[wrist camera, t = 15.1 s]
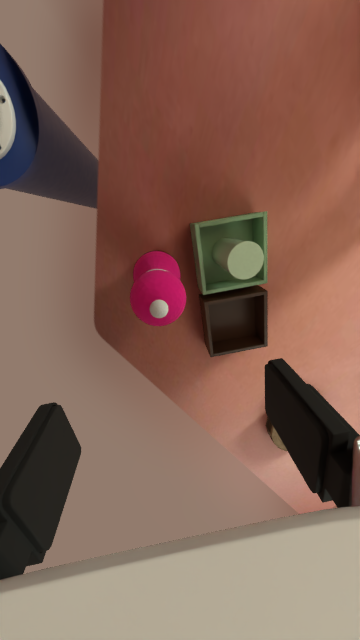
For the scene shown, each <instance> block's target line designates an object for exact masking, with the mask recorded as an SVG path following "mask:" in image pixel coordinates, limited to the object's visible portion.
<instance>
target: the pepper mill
mask: <svg viewBox="0 0 360 640" xmlns="http://www.w3.org/2000/svg"><path fill="white" fill-rule="evenodd" d="M180 277H181V276H180V269H179V266H178V264H177V262H176V261H175V259H174V258H173V257H172V256H170V255H169V254H167V253H165V252H161V251H152V252H148V253H146V254H144V255H143V256H141V257H140V258H139V259H138V261H137V262H136V264H135V267H134V271H133V279H134V284H133V286H132V289H131V293H130V303H131V307H132V309H133V311H134V313H135V314H136V316H137V317H138V318H139V319H140V320H142V321H143V322H145V323H147V324H149V325H153V326H164V325H167V324H170V323H172V322H174V321H175V320H176V319H177V318H178V317H179V316H180V315H181V313H182V312H183V310H184V308H185V304H186V292H185V289H184V286H183V284H182V283H181V281H180Z"/></svg>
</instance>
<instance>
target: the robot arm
mask: <svg viewBox="0 0 360 640" xmlns="http://www.w3.org/2000/svg"><path fill="white" fill-rule="evenodd" d="M4 101H5V103H4ZM15 133H16V118H15V112H14V108H13V105H12V101H11V98H10V96H9V94H8V92H7V90H6V88H5V86H4V84H3V83H2V81H1V80H0V147H1V150H0V159H1V158H3V157H4V156H5V155H6V154H7V153H8V151H9V150H10V149H11V146H12V144H13V142H14V138H15ZM265 410H266V414H267V416H268V418H269V420H270V421H271V423H272V425H273V427H274V428H275V430H276V432H277V433H278V435H279V437H280V439H281V440H282V442H283V444H284V446H285V447H286V449H287V451H288V452H289V454H290V456H291V458H292V459H293V461H294V463H295V464H296V466H297V468H298V470H299V471H300V473H301V475H302V476H303V478H304V480H305V482H306V483H307V485H308V487H309V488H310V490H311V491H312V492H313V493H317V494H318V496H319V497H320V499H321V501H322V502H327V501H332V500H333V501H334V503H335V504H336V506H337V507H338V508H334V509H326V510H320V511H314V512H309V513H304V514H298V515H293V516H288V517H282V518H277V519H272V520H269V521H263V522H258V523H253V524H249V525H244V526H239V527H234V528H230V529H225V530H220V531H215V532H211V533H206V534H201V535H197V536H192V537H187V538H183V539H178V540H173V541H169V542H164V543H159V544H155V545H150V546H146V547H141V548H137V549H132V550H127V551H123V552H119V553H114V554H109V555H105V556H100V557H96V558H91V559H87V560H82V561H78V562H74V563H69V564H64V565H60V566H55V567H51V568H46V569H42V570H38V571H34V572H30V573H26V574H23V573H24V570H25V567H26V566H30V565H35V564H39V563H42V562H43V559H44V556H45V553H46V551H47V550H49V549H50V547H51V545H52V542H53V539H54V536H55V533H56V530H57V527H58V524H59V521H60V517H61V514H62V511H63V508H64V505H65V502H66V499H67V495H68V492H69V489H70V486H71V483H72V480H73V477H74V473H75V470H76V467H77V464H78V461H79V458H80V455H81V446H80V444H79V442H78V440H77V438H76V436H75V433H74V431H73V429H72V427H71V425H70V423H69V421H68V419H67V417H66V415H65V413H64V411H63V408H62V407H61V405H57V403H49V404H44V405H41V406H40V407H39V408H38V409H37V411H36V413H35V414H34V416H33V417H32V419H31V420H30V422H29V424H28V425H27V427H26V428H25V430H24V432H23V433H22V435H21V436H20V438H19V439H18V441H17V443H16V444H15V446H14V447H13V449H12V451H11V452H10V454H9V456H8V457H7V459H6V460H5V462H4V463H3V465H2V467H1V468H0V640H360V435H359V434H358V433H357V432H356V431H355V430H354V429H353V428H352V427H351V426H350V425H349V424H348V423H347V422H346V420H345V419H344V418H343V417H342V416H341V415H340V414H339V413H338V412H337V411H336V410H335V409H334V408H333V407H332V406H331V405H330V404H329V403H328V402H327V401H326V400H325V399H324V398H323V397H322V396H321V395H320V394H319V392H318V391H317V390H316V389H315V388H314V387H313V386H311V385H310V384H306V383H305V382H304V381H303V380H302V379H301V378H300V377H299V376H298V374H297V373H296V372H295V371H294V370H293V369H292V368H291V367H290V366H289V365H288V364H287V363H286V362H285V361H284V360H283V359H282V358H280V359H275V360H270V361H269V362H268V364H266V365H265Z"/></svg>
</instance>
